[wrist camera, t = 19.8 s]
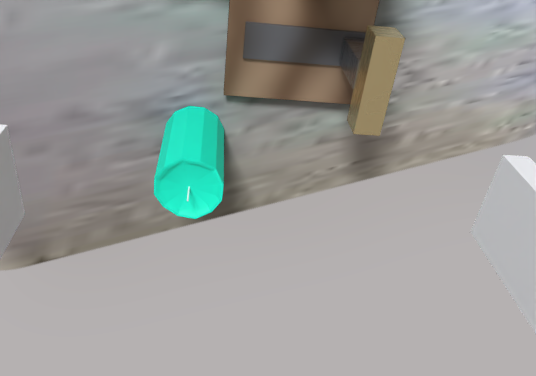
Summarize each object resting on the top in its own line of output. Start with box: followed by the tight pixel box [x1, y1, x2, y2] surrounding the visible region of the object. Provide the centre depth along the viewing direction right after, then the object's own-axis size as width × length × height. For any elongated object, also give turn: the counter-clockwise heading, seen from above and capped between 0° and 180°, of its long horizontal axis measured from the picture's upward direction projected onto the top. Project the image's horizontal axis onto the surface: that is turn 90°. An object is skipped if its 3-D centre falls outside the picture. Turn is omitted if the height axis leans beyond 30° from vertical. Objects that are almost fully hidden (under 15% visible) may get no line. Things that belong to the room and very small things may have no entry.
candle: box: [154, 106, 224, 219], centre depth 46 cm, size 6×6×12 cm
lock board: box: [224, 0, 379, 104], centre depth 46 cm, size 13×11×2 cm
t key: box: [339, 25, 405, 136], centre depth 42 cm, size 2×8×9 cm, turn 174°
